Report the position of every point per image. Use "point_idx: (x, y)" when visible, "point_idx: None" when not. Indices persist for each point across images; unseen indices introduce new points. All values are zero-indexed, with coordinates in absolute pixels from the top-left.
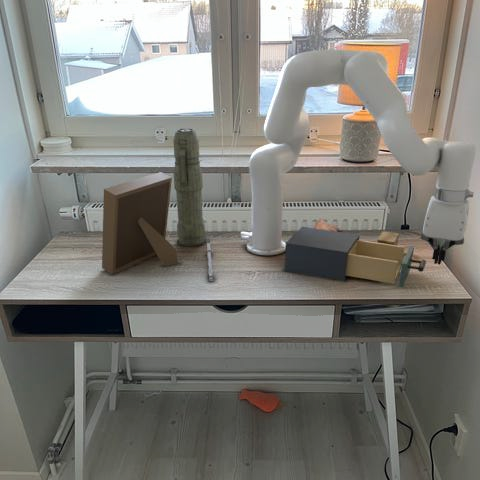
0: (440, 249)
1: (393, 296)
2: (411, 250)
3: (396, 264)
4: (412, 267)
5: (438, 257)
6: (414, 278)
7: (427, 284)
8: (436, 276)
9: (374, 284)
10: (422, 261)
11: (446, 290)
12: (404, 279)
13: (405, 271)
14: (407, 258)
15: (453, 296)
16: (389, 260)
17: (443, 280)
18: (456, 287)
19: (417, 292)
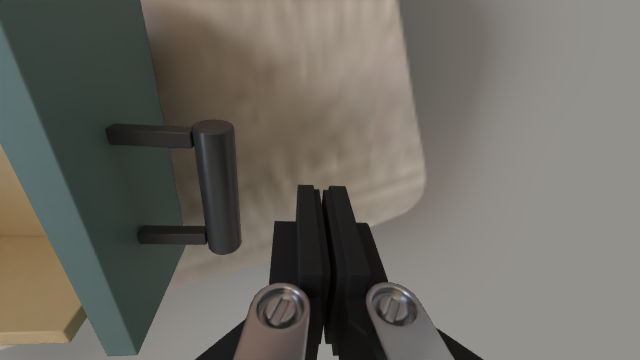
0: (330, 327)
1: (177, 279)
2: (34, 134)
3: (77, 328)
4: (172, 242)
5: (320, 201)
6: (205, 94)
7: (281, 143)
8: (321, 17)
9: None
10: (207, 172)
11: (365, 174)
12: (173, 256)
13: (157, 309)
14: (101, 297)
15: (387, 213)
16: (8, 339)
17: (358, 66)
18: (413, 130)
19: (251, 227)
